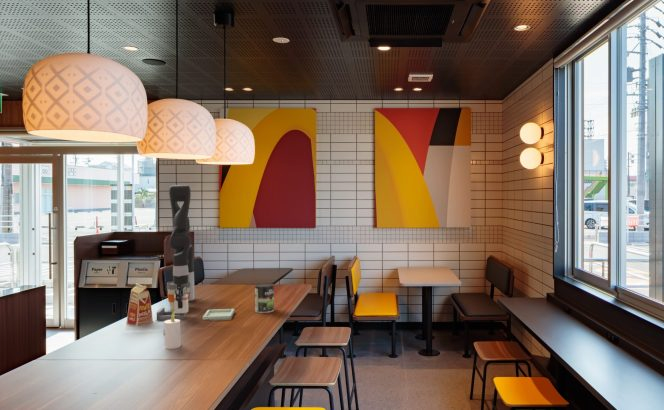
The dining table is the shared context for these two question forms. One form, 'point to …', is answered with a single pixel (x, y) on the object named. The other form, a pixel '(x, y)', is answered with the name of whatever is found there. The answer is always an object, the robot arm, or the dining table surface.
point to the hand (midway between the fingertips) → (181, 307)
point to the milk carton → (139, 306)
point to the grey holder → (168, 315)
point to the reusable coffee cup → (171, 292)
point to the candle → (172, 333)
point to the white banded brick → (185, 304)
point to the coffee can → (264, 298)
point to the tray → (219, 314)
